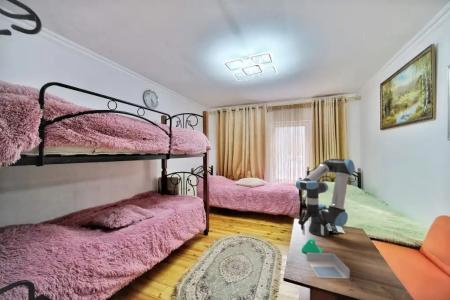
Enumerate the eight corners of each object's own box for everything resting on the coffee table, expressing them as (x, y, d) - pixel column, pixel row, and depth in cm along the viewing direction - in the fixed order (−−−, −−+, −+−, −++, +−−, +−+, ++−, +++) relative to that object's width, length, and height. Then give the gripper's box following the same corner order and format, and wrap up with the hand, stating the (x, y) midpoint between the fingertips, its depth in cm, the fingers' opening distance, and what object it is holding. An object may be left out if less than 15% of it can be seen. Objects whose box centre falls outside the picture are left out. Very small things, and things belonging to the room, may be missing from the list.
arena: (306, 260, 124) (306, 252, 124) (333, 261, 123) (333, 253, 123) (318, 277, 107) (318, 268, 107) (349, 278, 106) (349, 269, 106)
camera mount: (322, 253, 133) (322, 238, 133) (320, 258, 127) (320, 242, 127) (303, 248, 140) (303, 234, 140) (301, 252, 134) (301, 238, 134)
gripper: (296, 205, 131) (297, 236, 131) (333, 205, 130) (333, 237, 130) (293, 202, 138) (293, 232, 138) (327, 202, 137) (328, 232, 137)
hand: (312, 234), depth 134 cm, fingers open, 12 cm apart
